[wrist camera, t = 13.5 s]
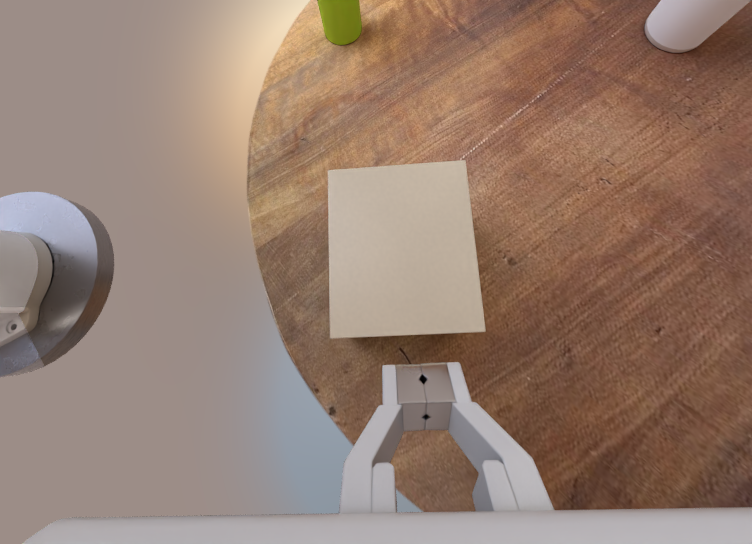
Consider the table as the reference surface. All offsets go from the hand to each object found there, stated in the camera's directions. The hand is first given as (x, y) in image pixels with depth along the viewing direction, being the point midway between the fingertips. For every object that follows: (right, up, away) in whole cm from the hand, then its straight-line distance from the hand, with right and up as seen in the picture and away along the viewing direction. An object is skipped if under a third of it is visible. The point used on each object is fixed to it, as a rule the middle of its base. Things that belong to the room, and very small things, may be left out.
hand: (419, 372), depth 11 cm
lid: (+1, +6, +15) cm, 16 cm away
